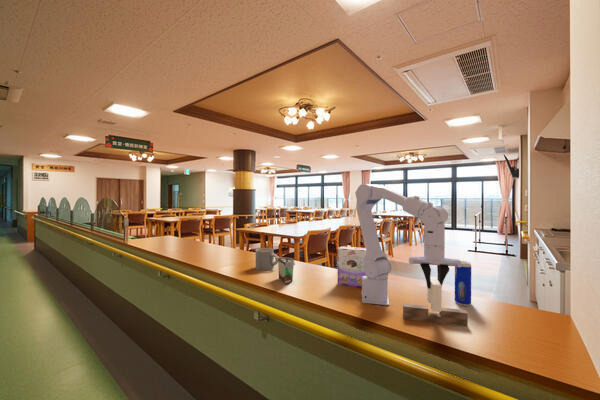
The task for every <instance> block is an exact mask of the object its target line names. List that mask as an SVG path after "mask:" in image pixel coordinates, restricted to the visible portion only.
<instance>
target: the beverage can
mask: <svg viewBox="0 0 600 400" xmlns="http://www.w3.org/2000/svg"><path fill="white" fill-rule="evenodd" d="M460 261H461V267H457V266H454V302H455V303H456V304H457V305H460V306H464V307H465V306H467V307H468V306H470V305H471V304H472V264H471V262H469V261H464V260H460Z"/></svg>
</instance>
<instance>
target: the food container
mask: <svg viewBox="0 0 600 400" xmlns="http://www.w3.org/2000/svg"><path fill="white" fill-rule="evenodd" d="M277 264H278V280H279V281H281V282H282V283H283V284H284V285H290V284H291V283H292V282H293V279H294V278H293V277H294V266H295V265H296V262H295V260H294V258H292V257H286V256H285V257H284V256H283V257H279V256H278V263H277Z"/></svg>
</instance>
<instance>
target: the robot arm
mask: <svg viewBox="0 0 600 400" xmlns="http://www.w3.org/2000/svg"><path fill="white" fill-rule="evenodd" d="M354 194H355V198H356V207H355V208H356V213H357V217H358V221H359V225H360V229H361V233H362V234H361V235H362V238H363V243H364V246H365V247H364V248H366V251H367V253H366V255H365V256H364V258H363V260H364V272H365V274H366V275H367V276H363V277H362V288H361V292H360V293H361V302H362V304H370V305H373V304H374V305H381V306H389V305H390V301H389V296H388V294H389V291H388V287H389V286H388V283H389V282H388V279H389V278H388V277H389V273H390V272H391V271H392V268H393V267H392V263H391V262H390V260H389V258H388V256H387V253H385V251H384V250H382V247H381V243H380V239H379V235H378V231H377V227H376V223H375V220H374V216H373V212H372V210H373V208H374V207H375V205H377V203H379V202H380V201H381V200H382V199H385V200H387V201H389V202H392V203H394V204H397V205H399V206H401V207H402V210H403V211H404V212H405V213H407V214H408V215H409V214H410V215H411V216H412V217H415V218H418V219H419V220H421V222H422V223H423V225H424V226H423V231H424V232H423V236H424V238H423V242H424V244H423V245H424V247H423V256H409V257H408V264H409V265H420V267H421V270H422V273H423V275H424V278H425V281H426V282H425V283H426V287H427V289H428V288H429V289H430V288H431V282H430V277H431V275H432V274H431V272H432V268H431V266H436V270H437V271H436V272H437V279H438V281H439V282H440V284H441V285H442V286H443V284H444V281H445V278H446V276H447V275H448V273H449V272H450V267H455V266H457V267H461V261H462V260H461V259H456V258H455V259H454V258H445V252H446V251H445V245H446V242H445V240H446V239H445V238H446V237H445V233H446V231H445V227H446V226H445V224H446V222H447V220H448V217H449V214H448V212H447V210H446V209H445V208H444V207H442V206H441V205H435V206H434V205H433V202H431V201H430V202H427V201H424V200H422V199H420V196H419V195H414V196H413V195H411V196H408V197H407V196H404V195H403V194H401V193H398V192H397V191H394V190H393V189H391V188H390V187H387V186H384V185H381V184H379V183H378V184H372V183H362V184H360V185H358V187H357V189H356V191H355V192H354Z"/></svg>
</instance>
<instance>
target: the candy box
mask: <svg viewBox="0 0 600 400" xmlns="http://www.w3.org/2000/svg"><path fill="white" fill-rule="evenodd" d="M336 250H337V284H338V285H342V286H349V287H355V288H361V289H362V277H363V276H367V275H366V274H365V272H364V260H363V258H364V256H365V255H366V253H367V251H366V247H358V246H357V247H354V246H346V245H345V246H344V245H343V246H342V245H341V246H339V247H337V249H336Z"/></svg>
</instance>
